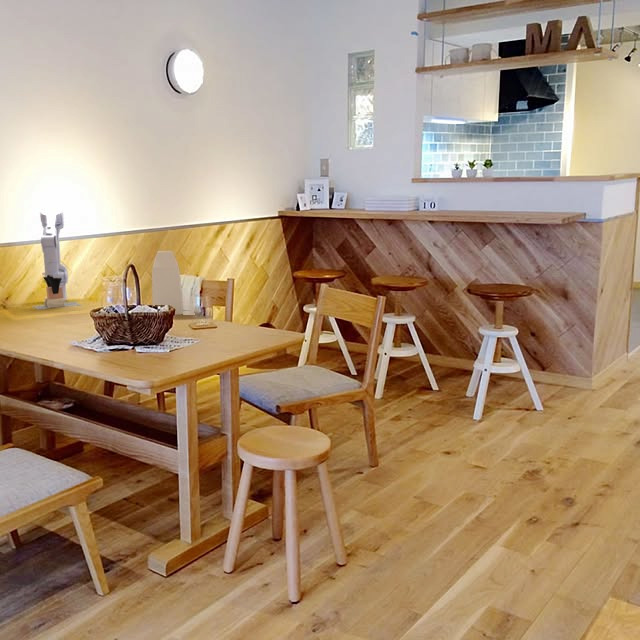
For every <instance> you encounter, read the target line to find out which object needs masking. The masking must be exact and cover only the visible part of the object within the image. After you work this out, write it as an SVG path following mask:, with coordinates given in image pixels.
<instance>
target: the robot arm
mask: <svg viewBox="0 0 640 640" xmlns="http://www.w3.org/2000/svg"><path fill="white" fill-rule="evenodd" d="M39 214H40V222H41V225H42V228H43V230H42V237H40V242H41V243H40V244H41V249H42V253H43V262H44V263H43V265H44V272H42V275H43V280H44V281H45V284H46V286H47V287H51V288H52V292H53V294H58V293H59V286H61V287H62V288H63V298H64V302H65V301H68V300H67V288H66V287H67V286H66V285H67V284H68V283H69V274H68V268H67V267H66V266H65V265H64V264H62V263H61V249H60V247H61V246H60V232H61V230H62V229H64V226H65V225H64V223H65V221H64V219H65V218H64V212H63V210H62V209H47V210H43V209H41V211H40V212H39Z"/></svg>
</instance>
